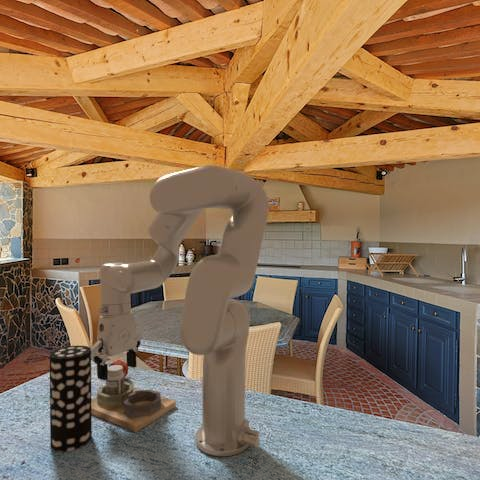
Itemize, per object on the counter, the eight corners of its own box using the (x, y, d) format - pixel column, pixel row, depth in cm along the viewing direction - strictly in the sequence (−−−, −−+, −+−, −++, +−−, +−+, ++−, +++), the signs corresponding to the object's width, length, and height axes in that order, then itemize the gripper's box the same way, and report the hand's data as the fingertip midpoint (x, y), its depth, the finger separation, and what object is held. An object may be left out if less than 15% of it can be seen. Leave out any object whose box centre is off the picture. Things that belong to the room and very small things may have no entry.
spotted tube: (52, 434, 82) (51, 348, 82) (91, 426, 86) (90, 343, 85) (48, 455, 75) (47, 360, 74) (91, 446, 78) (91, 355, 77)
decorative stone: (119, 381, 116) (136, 376, 113) (101, 386, 111) (119, 380, 107) (115, 361, 118) (132, 355, 115) (98, 365, 112) (116, 359, 109)
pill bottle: (118, 392, 100) (118, 362, 100) (128, 397, 97) (128, 367, 97) (102, 398, 97) (102, 367, 96) (112, 404, 94) (112, 372, 93)
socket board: (175, 406, 96) (175, 391, 96) (136, 432, 84) (136, 415, 84) (123, 389, 106) (123, 375, 106) (81, 409, 94) (80, 394, 94)
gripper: (98, 317, 87) (100, 387, 87) (149, 304, 102) (151, 364, 102) (78, 314, 91) (80, 381, 91) (130, 302, 106) (132, 360, 106)
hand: (117, 372), depth 97 cm, fingers open, 9 cm apart
